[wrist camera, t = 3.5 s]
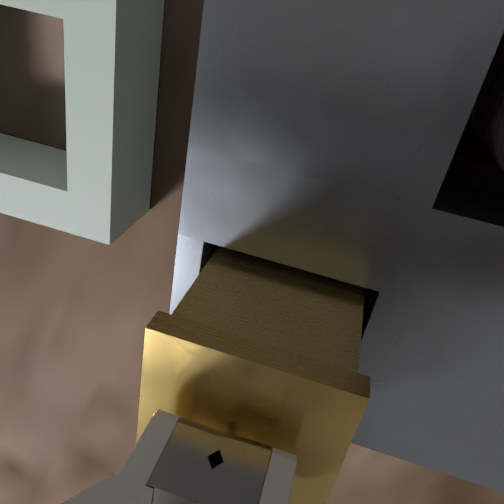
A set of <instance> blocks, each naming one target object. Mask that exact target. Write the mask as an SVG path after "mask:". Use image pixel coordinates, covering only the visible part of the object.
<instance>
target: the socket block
mask: <svg viewBox="0 0 504 504" xmlns="http://www.w3.org/2000/svg"><path fill="white" fill-rule="evenodd" d="M503 32H504V0H204V5H203V14H202V23H201V32H200V42H199V51H198V60H197V69H196V78H195V87H194V96H193V105H192V114H191V123H190V132H189V141H188V150H187V159H186V169H185V178H184V187H183V196H182V205H181V214H180V223H179V232H178V241H177V250H176V259H175V268H174V277H173V287H172V296H171V305H170V314H172V313H173V311H174V310H175V308H176V307H177V305H178V304H179V302H180V301H181V300H182V298H183V297H184V295H185V294H186V292H187V291H188V290H189V288H190V287H191V285H192V284H193V282H194V281H195V280H196V278H197V277H198V275H199V274H200V272H201V271H202V269H203V268H204V267H205V265H206V264H207V262H208V261H209V259H210V258H211V257H212V255H213V254H214V252H215V251H216V249H217V248H218V247H219V246H222V247H225V248H228V249H232V250H235V251H239V252H242V253H246V254H249V255H253V256H256V257H260V258H263V259H267V260H270V261H274V262H277V263H281V264H284V265H288V266H291V267H295V268H298V269H302V270H305V271H309V272H312V273H316V274H319V275H323V276H326V277H330V278H333V279H337V280H340V281H344V282H347V283H351V284H354V285H358V286H361V287H365V296H364V308H363V320H362V333H361V345H360V357H359V369H358V373H361V374H364V375H367V376H370V377H371V381H370V399H369V402H368V404H367V406H366V409H365V411H364V413H363V416H362V418H361V420H360V423H359V425H358V427H357V430H356V432H355V434H354V437H353V439H352V441H351V443H354V444H357V445H360V446H363V447H366V448H369V449H372V450H375V451H378V452H381V453H384V454H387V455H390V456H394V457H397V458H400V459H403V460H406V461H409V462H412V463H415V464H418V465H421V466H424V467H427V468H430V469H433V470H436V471H439V472H442V473H445V474H448V475H451V476H454V477H457V478H460V479H463V480H466V481H469V482H472V483H475V484H478V485H481V486H484V487H487V488H490V489H493V490H496V491H499V492H502V493H504V172H503V171H502V169H501V168H499V167H495V166H491V165H487V164H483V163H479V162H475V161H471V160H466V159H462V158H458V157H454V156H453V155H454V153H455V150H456V148H457V145H458V143H459V140H460V138H461V136H462V133H463V131H464V128H465V126H466V123H467V121H468V118H469V116H470V113H471V111H472V108H473V106H474V103H475V101H476V99H477V96H478V94H479V91H480V89H481V86H482V84H483V81H484V79H485V76H486V74H487V71H488V69H489V66H490V64H491V62H492V59H493V57H494V54H495V52H496V49H497V47H498V44H499V42H500V39H501V37H502V34H503Z"/></svg>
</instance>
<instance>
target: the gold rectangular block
mask: <svg viewBox="0 0 504 504" xmlns="http://www.w3.org/2000/svg"><path fill="white" fill-rule="evenodd" d="M364 296H365V287H361V286H358V285H354V284H351V283H347V282H344V281H340V280H337V279H333V278H330V277H326V276H323V275H319V274H316V273H312V272H309V271H305V270H302V269H298V268H295V267H291V266H288V265H284V264H281V263H277V262H274V261H270V260H267V259H263V258H260V257H256V256H253V255H249V254H246V253H242V252H239V251H235V250H232V249H228V248H225V247H222V246H219V247H218V248H217V249H216V251H215V252H214V254H213V255H212V257H211V258H210V259H209V261H208V262H207V264H206V265H205V267H204V268H203V269H202V271H201V272H200V274H199V275H198V277H197V278H196V280H195V281H194V282H193V284H192V285H191V287H190V288H189V290H188V291H187V292H186V294H185V295H184V297H183V298H182V300H181V301H180V302H179V304H178V305H177V307H176V308H175V310H174V311H173V313H172V314H168V313H165V312H162V311H158V312H157V313H156V314H155V316H154V317H153V318H152V320H151V321H150V322H149V324H148V325H147V326H146V328H145V339H144V352H143V365H142V377H141V390H140V402H139V415H138V428H137V440H136V444H137V442H138V440H139V439H140V437H141V435H142V433H143V432H144V430H145V428H146V426H147V424H148V423H149V421H150V419H151V417H152V416H153V414H154V413H155V412H156V411H157V410H158V409H160V410H163V411H166V412H169V413H172V414H175V415H177V416H180V417H183V418H186V419H189V420H191V421H194V422H197V423H200V424H202V425H205V426H208V427H211V428H213V429H216V430H219V431H222V432H224V433H226V432H228V433H231V434H234V435H237V436H240V437H244V438H247V439H250V440H253V441H256V442H259V443H262V444H266V445H269V446H272V448H276V449H279V450H282V451H285V452H288V453H291V454H294V455H296V456H297V464H296V469H295V474H294V480H293V485H292V490H291V496H290V501H289V504H325V502H326V500H327V497H328V495H329V493H330V490H331V488H332V486H333V483H334V481H335V479H336V476H337V474H338V472H339V469H340V467H341V465H342V462H343V460H344V458H345V455H346V453H347V451H348V448H349V446H350V444H351V441H352V439H353V437H354V434H355V432H356V430H357V427H358V425H359V423H360V420H361V418H362V416H363V413H364V411H365V409H366V406H367V404H368V402H369V399H370V381H371V377H370V376H367V375H364V374H361V373H358V369H359V357H360V345H361V333H362V320H363V308H364Z"/></svg>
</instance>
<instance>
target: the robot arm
mask: <svg viewBox="0 0 504 504" xmlns="http://www.w3.org/2000/svg"><path fill="white" fill-rule="evenodd" d="M296 464H297V456H296V455H294V454H291V453H288V452H285V451H282V450H279V449H276V448H272V446H269V445H266V444H262V443H259V442H256V441H253V440H250V439H247V438H244V437H240V436H237V435H234V434H231V433H228V432H226V433H224V432H222V431H219V430H216V429H213V428H211V427H208V426H205V425H202V424H200V423H197V422H194V421H191V420H189V419H186V418H183V417H180V416H177V415H175V414H172V413H169V412H166V411H163V410H160V409H158V410H157V411H156V412H155V413H154V414H153V416H152V417H151V419H150V421H149V423H148V424H147V426H146V428H145V430H144V432H143V433H142V435H141V437H140V439H139V440H138V442H137V444H136V446H135V447H134V449H133V451H132V453H131V455H130V456H129V458H128V460H127V462H126V463H125V465H124V467H123V469H122V470H121V472H120V474H119V476H117V475H114V474H110V475H108V476H107V477H105V478H103V479H102V480H100V481H98V482H97V483H95V484H93V485H92V486H90V487H88V488H87V489H85V490H83V491H82V492H80V493H78V494H77V495H75V496H73V497H72V498H70V499H68V500H67V501H65V502H63V503H62V504H289V501H290V496H291V490H292V485H293V480H294V474H295V469H296Z"/></svg>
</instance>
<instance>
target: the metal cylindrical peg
mask: <svg viewBox="0 0 504 504" xmlns="http://www.w3.org/2000/svg"><path fill="white" fill-rule="evenodd" d="M468 119H469V121H470V123H471V125H472V126H473V128H474V129H475V131H476V132H477V134H478V135H479V137H480V138H481V140H482V141H483V143H484V144H485V146H486V147H487V149H488V150H489V152H490V153H491V155H492V156H493V158H494V159H495V161H496V162H497V164H498V165H499V166H500V168H501V169H502V171H503V172H504V34H503V35H502V37H501V39H500V42H499V44H498V47H497V49H496V52H495V54H494V57H493V59H492V62H491V64H490V66H489V69H488V71H487V74H486V76H485V79H484V81H483V84H482V86H481V89H480V91H479V94H478V96H477V99H476V101H475V103H474V106H473V108H472V111H471V113H470V116H469V118H468Z"/></svg>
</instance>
